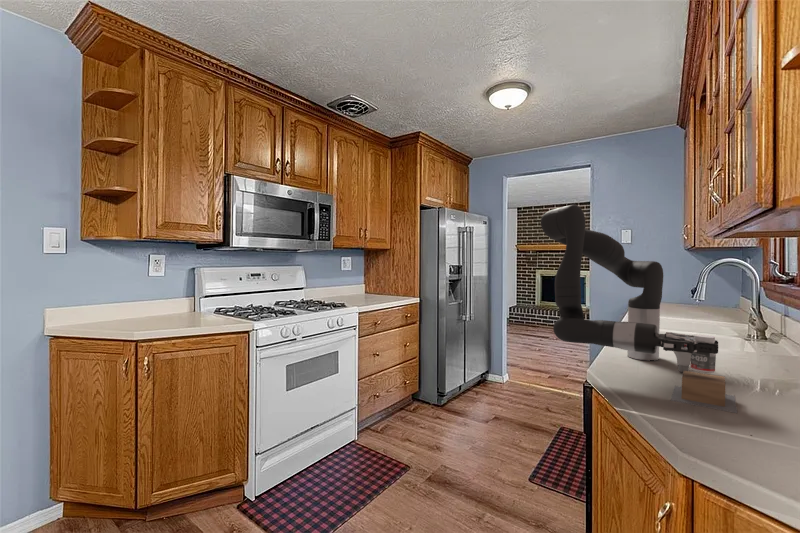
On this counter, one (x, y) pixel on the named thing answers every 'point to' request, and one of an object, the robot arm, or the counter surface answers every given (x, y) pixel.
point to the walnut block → (703, 388)
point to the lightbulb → (683, 360)
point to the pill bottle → (703, 356)
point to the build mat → (729, 403)
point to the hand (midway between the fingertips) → (717, 347)
